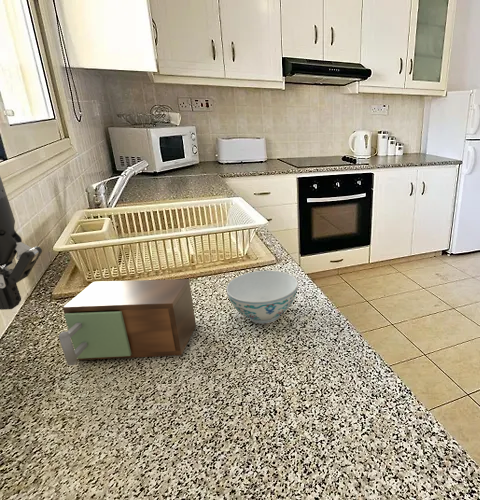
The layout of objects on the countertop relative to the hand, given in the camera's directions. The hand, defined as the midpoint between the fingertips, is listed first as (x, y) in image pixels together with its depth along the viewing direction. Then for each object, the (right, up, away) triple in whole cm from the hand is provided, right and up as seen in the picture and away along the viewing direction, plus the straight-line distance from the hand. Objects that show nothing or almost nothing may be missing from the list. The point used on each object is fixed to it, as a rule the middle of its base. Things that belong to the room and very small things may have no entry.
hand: (10, 306), depth 57 cm
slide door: (+8, -11, +8) cm, 16 cm away
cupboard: (+12, -9, +16) cm, 22 cm away
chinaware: (+34, -6, +26) cm, 43 cm away
